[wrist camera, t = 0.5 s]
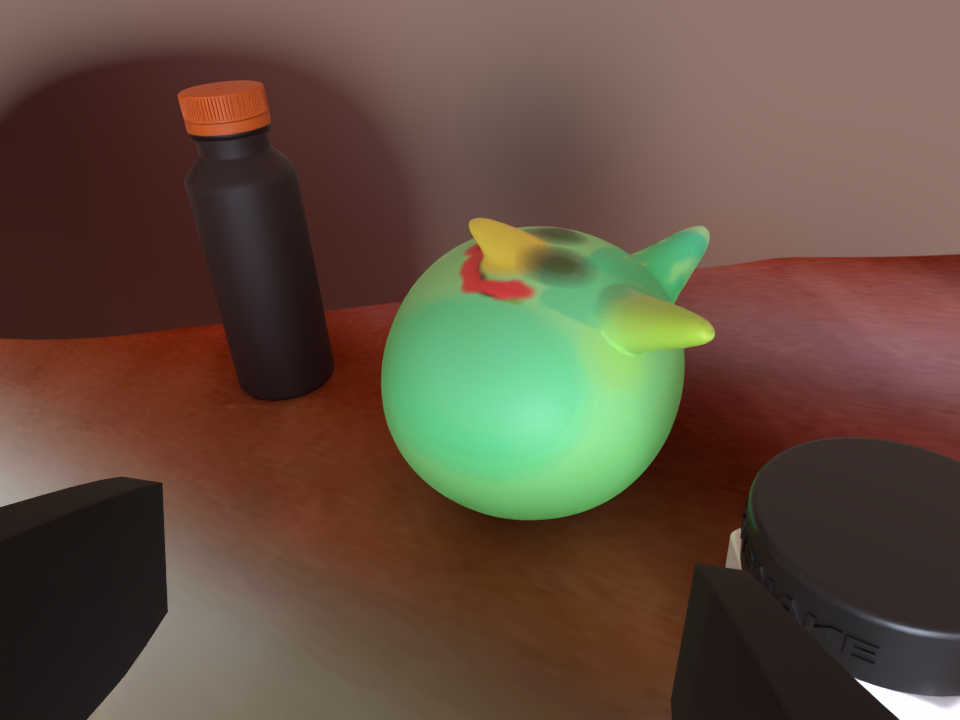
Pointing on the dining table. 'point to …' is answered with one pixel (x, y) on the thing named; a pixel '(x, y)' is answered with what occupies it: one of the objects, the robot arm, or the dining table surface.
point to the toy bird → (540, 366)
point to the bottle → (255, 242)
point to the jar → (865, 562)
